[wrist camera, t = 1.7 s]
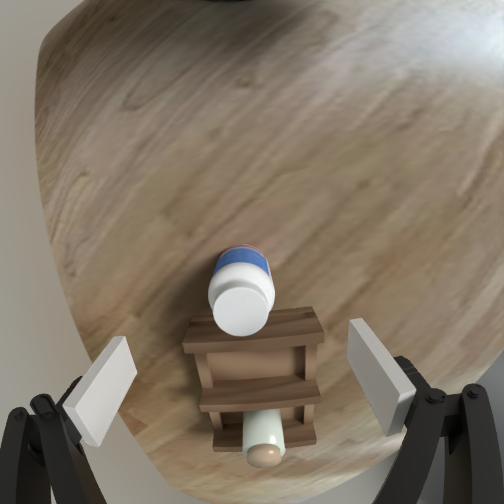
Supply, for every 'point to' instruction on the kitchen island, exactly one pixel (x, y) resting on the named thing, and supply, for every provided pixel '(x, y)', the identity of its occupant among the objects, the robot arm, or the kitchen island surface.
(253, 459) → the jar
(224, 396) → the rack
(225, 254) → the pill bottle
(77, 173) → the kitchen island surface
